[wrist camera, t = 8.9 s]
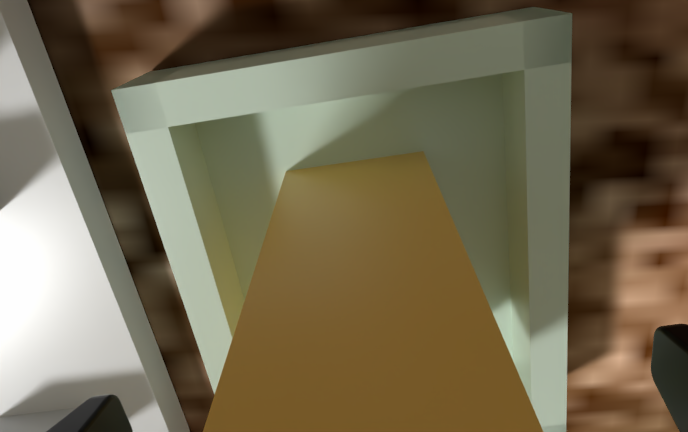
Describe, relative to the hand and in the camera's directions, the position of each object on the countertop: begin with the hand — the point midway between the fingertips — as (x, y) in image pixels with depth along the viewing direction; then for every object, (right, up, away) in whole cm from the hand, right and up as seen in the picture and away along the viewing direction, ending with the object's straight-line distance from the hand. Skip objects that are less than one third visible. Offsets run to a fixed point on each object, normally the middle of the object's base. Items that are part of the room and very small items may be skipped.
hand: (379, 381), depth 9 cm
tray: (0, +2, +4) cm, 4 cm away
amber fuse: (0, +2, +4) cm, 4 cm away
